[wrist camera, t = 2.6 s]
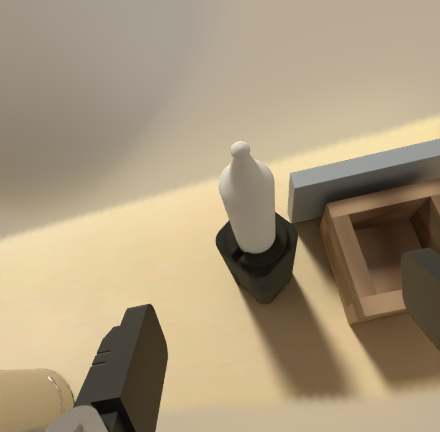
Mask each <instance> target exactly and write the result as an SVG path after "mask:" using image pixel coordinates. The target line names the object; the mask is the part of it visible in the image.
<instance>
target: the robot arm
mask: <svg viewBox="0 0 440 432" xmlns="http://www.w3.org/2000/svg"><path fill="white" fill-rule="evenodd" d="M401 277H402V296H403V301H404V304H405V307H406V309H407V311H408V313H409V314H410V315H411V317H412V318H413V319H414V320H415V322H416V323H417V324H418V325H419V326H420V328H421V329H422V330H423V331H424V333H425V334H426V335H427V336H428V337H429V339H430V340H431V341H432V342H433V343H434V345H435V346H436V347H437V348H438V350H439V351H440V255H439V254H438V253H436V252H435V251H434V250H433V249H431V248H425V249H420V250H415V251H410V252H405V253H403V254H402V255H401ZM167 360H168V351H167V344H166V340H165V337H164V335H163V332H162V329H161V326H160V324H159V321H158V318H157V315H156V313H155V310H154V308H153V306H152V305H151V304H146V305H141V306H136V307H132V308H128V309H127V310H126V312H125V315H124V317H123V320H122V322H121V325H120V326H116V327H113V328H112V329H111V331H110V332H109V333H108V334H107V335H106V336H105V337H104V339H103V340H102V342H101V344H100V347H99V349H98V351H97V355H96V356H95V358H94V361H93V363H92V367H90V370H89V372H88V374H87V377H86V379H85V381H84V383H83V386H82V388H81V390H80V393H79V395H78V397H77V400H76V402H75V404H74V402H73V397H72V393H71V391H70V389H69V387H68V385H67V383H66V382H65V381H64V379H63V378H62V377H61V376H59V375H58V374H57V373H55V372H53V371H50V370H47V369H23V370H0V432H155V430H156V424H157V418H158V413H159V407H160V401H161V395H162V389H163V384H164V378H165V372H166V366H167Z"/></svg>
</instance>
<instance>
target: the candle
mask: <svg viewBox="0 0 440 432" xmlns="http://www.w3.org/2000/svg"><path fill="white" fill-rule="evenodd" d="M249 153H250V148H249V145H248V144H247V143H246V142H243V141H238V142H236V143H234V144H233V145H232V147H231V155H232V156H233V159H232V162H231V164H230V165H228V166H227V167H226V168H225V170H224V171H223V172H222V174H221V176H220V179H219V191H220V195H221V197H222V200H223V203H224V206H225V209H226V212H227V215H228V218H229V221H228V222H227V223H226V224H225V225H224V226H223V228H222V229H221V230H220V231H219V232H218V234H217V236H216V246H217V248H218V250H219V252H220V254H221V255H222V257H223V259H224V261H225V263H226V265H227V266H228V268H229V270H230V272H231V274H232V276H233V278H234V279H235V281H236V283H237V284H238V285H242V286H243V287H244V288H245V289H246V290H247V291H249V292H250V293H251V294H252V295H253V296H254V297H255V298H256V301H257V302H259V303H261V304H268V303H270V302H272V301H273V300H274V299H275V297H276V296H277V295H278V294H279V293H280V291H281V290H282V289H283V288H284V287H285V285H286V284H287V283H288V282H289V281H290V279H291V276H292V270H293V264H294V258H295V252H296V246H297V240H298V233H297V230H296V229H295V227H294V226H293V225H292V224H291V223H289V222H288V221H287V220H285V219H284V218H283V217H281V216H280V215H279V214H277V213H276V212H275V188H274V178H273V174H272V172H271V171H270V169H269V168H268V167H267V166H266V165H265V164H264V163H262V162H260V161H258V160H255V159H253V158H252V157H251V156H250V154H249Z"/></svg>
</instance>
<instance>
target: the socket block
mask: <svg viewBox="0 0 440 432" xmlns="http://www.w3.org/2000/svg"><path fill="white" fill-rule="evenodd" d="M319 231H320V234H321V238H322V241H323V244H324V247H325V250H326V253H327V257H328V260H329V263H330V266H331V269H332V272H333V276H334V279H335V282H336V285H337V288H338V292H339V295H340V298H341V301H342V304H343V307H344V311H345V314H346V317H347V320H348V323H349V324H354V323H359V322H364V321H369V320H374V319H379V318H384V317H389V316H395V315H400V314H405V313H408V311H407V309H406V307H405V304H404V301H403V296H402V277H401V255H402V254H403V253H405V252H410V251H415V250H420V249H425V248H431V249H433V250H434V251H435V252H436V253H438V254H439V255H440V178H438V179H434V180H429V181H425V182H420V183H416V184H411V185H407V186H402V187H398V188H393V189H389V190H384V191H380V192H375V193H371V194H366V195H362V196H358V197H353V198H349V199H344V200H340V201H335V202H331V203H327V205H326V208H325V211H324V214H323V217H322V221H321V224H320V227H319Z"/></svg>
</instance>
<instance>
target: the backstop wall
mask: <svg viewBox="0 0 440 432" xmlns="http://www.w3.org/2000/svg"><path fill="white" fill-rule="evenodd" d="M438 178H440V139H436V140H432V141H427V142H423V143H419V144H414V145H410V146H406V147H401V148H397V149H393V150H389V151H384V152H380V153H376V154H371V155H367V156H363V157H358V158H354V159H350V160H345V161H341V162H337V163H332V164H328V165H324V166H319V167H315V168H311V169H306V170H302V171H298V172H294V173H290V182H289V198H288V215H289V218H290V222H291V224H294V223H298V222H303V221H307V220H312V219H317V218H321V217H323V214H324V211H325V208H326V205H327V203H331V202H335V201H340V200H344V199H349V198H353V197H358V196H362V195H366V194H371V193H375V192H380V191H384V190H389V189H393V188H398V187H402V186H407V185H411V184H416V183H420V182H425V181H429V180H434V179H438Z"/></svg>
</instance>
